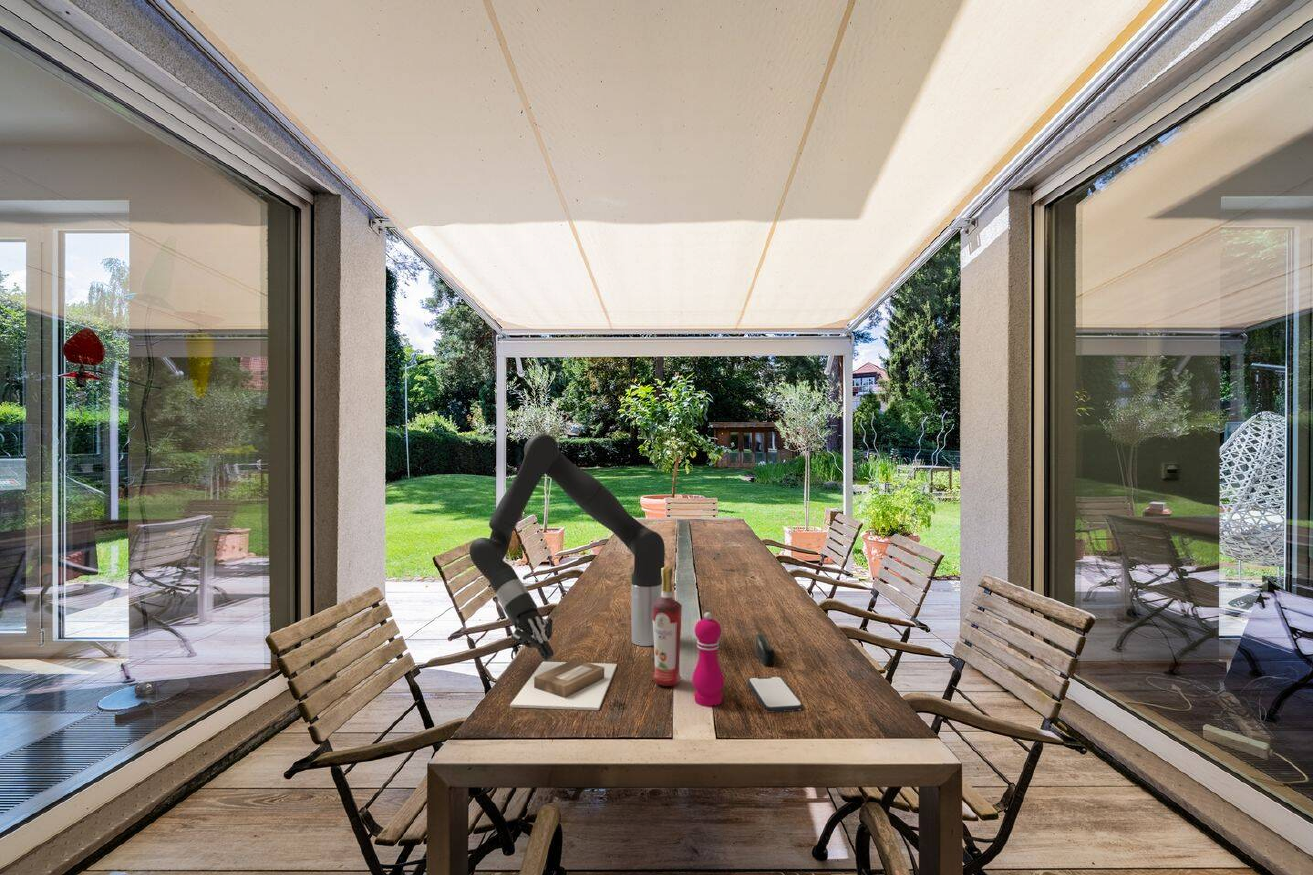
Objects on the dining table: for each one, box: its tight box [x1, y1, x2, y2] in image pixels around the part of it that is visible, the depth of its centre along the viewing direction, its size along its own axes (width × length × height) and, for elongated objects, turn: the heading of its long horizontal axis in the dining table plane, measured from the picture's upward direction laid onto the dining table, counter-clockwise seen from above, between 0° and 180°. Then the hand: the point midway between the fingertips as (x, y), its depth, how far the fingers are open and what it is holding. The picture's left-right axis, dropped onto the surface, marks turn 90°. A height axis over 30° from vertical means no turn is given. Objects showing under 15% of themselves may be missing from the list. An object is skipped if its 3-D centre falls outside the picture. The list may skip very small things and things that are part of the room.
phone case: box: [747, 676, 804, 713], centre depth 134 cm, size 9×2×16 cm
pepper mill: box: [692, 611, 725, 707], centre depth 132 cm, size 7×7×20 cm
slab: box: [534, 658, 604, 698], centre depth 140 cm, size 3×14×10 cm
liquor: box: [652, 566, 683, 687], centre depth 142 cm, size 7×7×28 cm
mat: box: [509, 661, 618, 711], centre depth 140 cm, size 20×26×1 cm
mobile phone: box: [754, 634, 775, 668], centre depth 159 cm, size 5×3×15 cm
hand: (549, 657), depth 144 cm, fingers closed
